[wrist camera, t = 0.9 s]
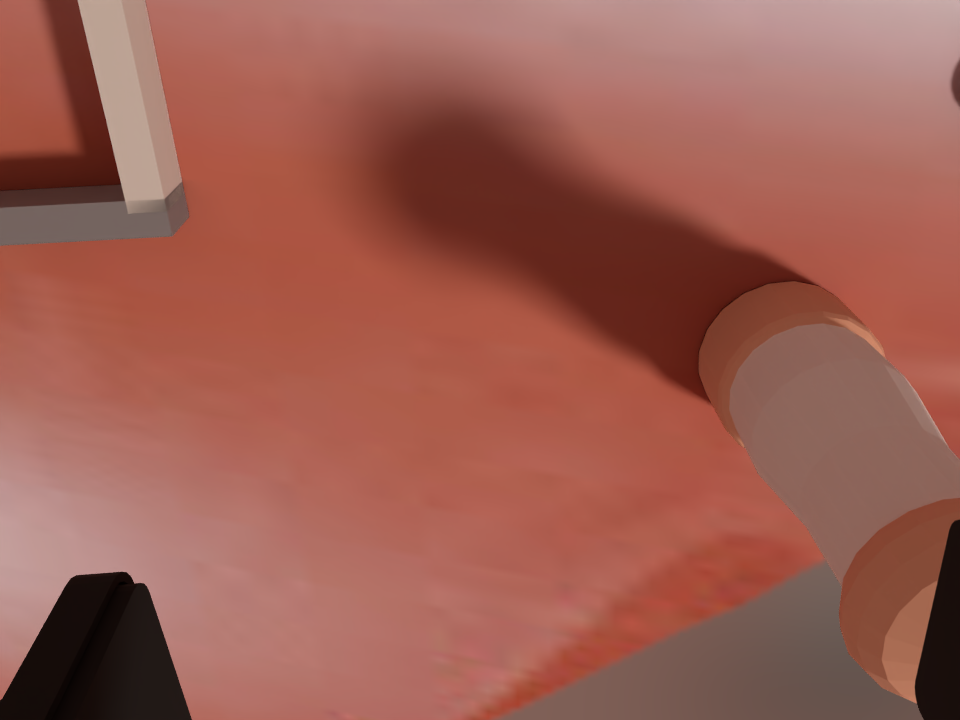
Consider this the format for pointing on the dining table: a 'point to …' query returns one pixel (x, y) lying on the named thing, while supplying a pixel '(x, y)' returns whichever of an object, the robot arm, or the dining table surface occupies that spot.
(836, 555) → the pepper shaker
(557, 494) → the dining table surface
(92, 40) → the cup pocket
